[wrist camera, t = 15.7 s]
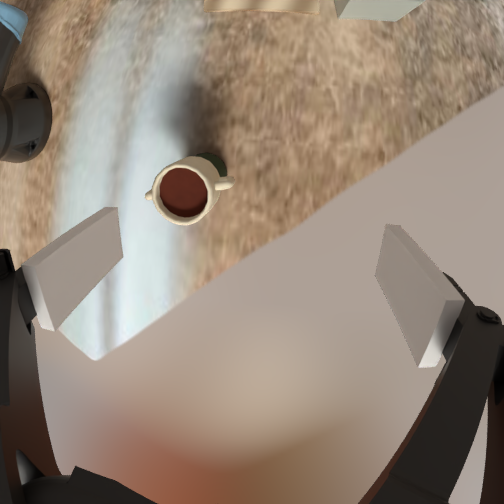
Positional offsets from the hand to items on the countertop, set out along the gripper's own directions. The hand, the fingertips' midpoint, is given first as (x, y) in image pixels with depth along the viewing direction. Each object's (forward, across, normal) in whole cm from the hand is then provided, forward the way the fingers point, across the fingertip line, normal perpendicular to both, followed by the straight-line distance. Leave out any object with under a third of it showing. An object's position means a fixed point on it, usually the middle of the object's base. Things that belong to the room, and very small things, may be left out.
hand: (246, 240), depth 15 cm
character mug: (+32, -9, -3) cm, 33 cm away
